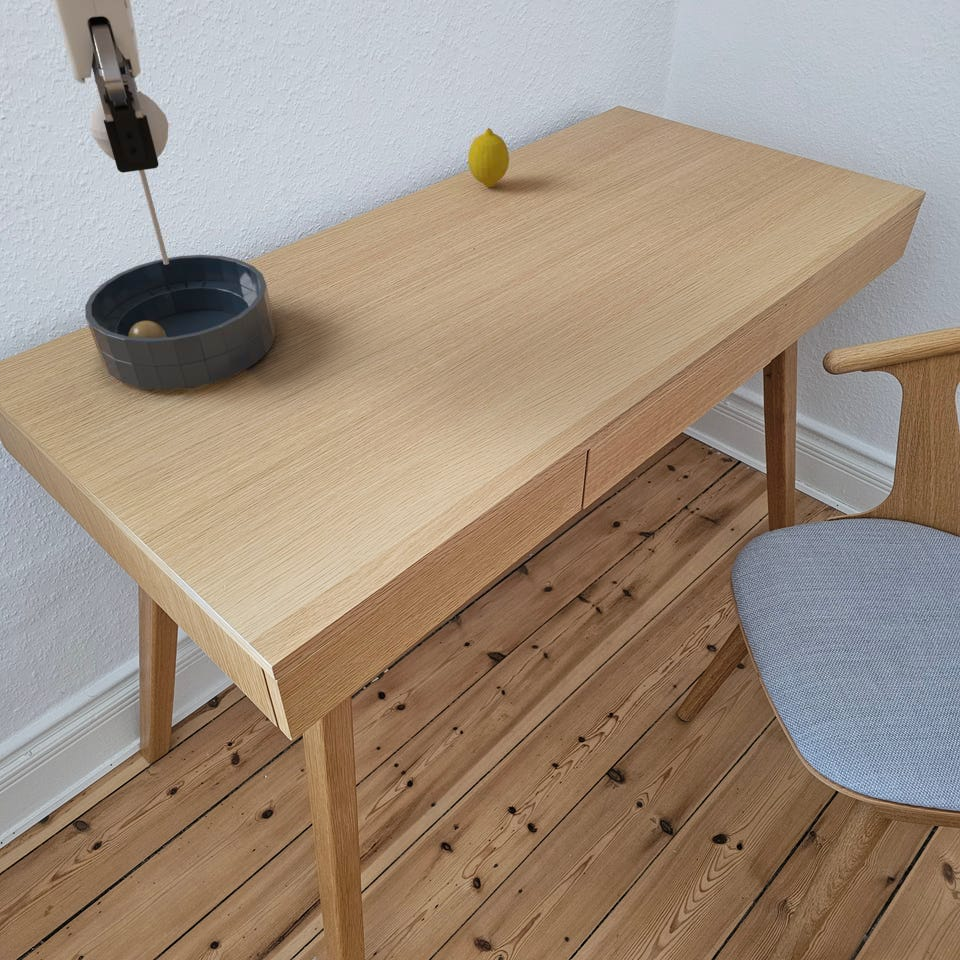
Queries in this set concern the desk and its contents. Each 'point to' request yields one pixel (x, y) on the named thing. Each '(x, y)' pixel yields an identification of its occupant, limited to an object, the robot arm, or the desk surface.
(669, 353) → the desk surface
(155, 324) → the bead
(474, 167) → the fruit
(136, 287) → the bowl
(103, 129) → the lollipop
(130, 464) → the desk surface
